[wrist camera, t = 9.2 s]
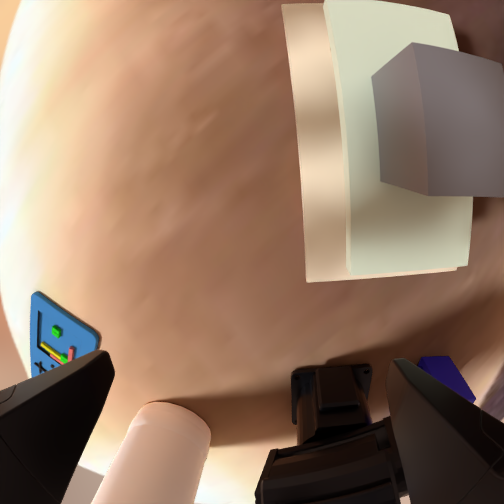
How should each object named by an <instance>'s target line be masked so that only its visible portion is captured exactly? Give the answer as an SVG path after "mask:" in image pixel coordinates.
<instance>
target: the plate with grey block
mask: <svg viewBox="0 0 504 504" xmlns="http://www.w3.org/2000/svg"><path fill="white" fill-rule="evenodd" d="M323 10H324V15H325V20H326V25H327V31H328V36H329V42H330V48H331V54H332V61H333V67H334V74H335V82H336V90H337V98H338V107H339V116H340V126H341V137H342V150H343V164H344V182H345V207H346V268H347V270H348V272H349V274H350V275H351V276H353V275H367V274H380V273H392V272H405V271H416V270H428V269H438V268H449V267H459V266H467V264H468V256H469V248H470V238H471V226H472V209H473V197H504V72H503V67H502V64H501V63H498V62H495V61H492V60H488V59H485V58H482V57H478V56H475V55H471V54H467V53H463V52H459V49H458V45H457V41H456V37H455V33H454V30H453V26H452V23H451V19H450V16H449V15H448V14H444V13H440V12H436V11H432V10H428V9H423V8H418V7H413V6H408V5H402V4H396V3H390V2H383V1H374V0H325V1H324V5H323Z"/></svg>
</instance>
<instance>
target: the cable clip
mask: <svg viewBox="0 0 504 504" xmlns="http://www.w3.org/2000/svg"><path fill="white" fill-rule="evenodd" d="M417 367H419V368H420V369H422V370H423V371H425V372H426V373H428V374H429V375H431V376H432V377H434V378H435V379H437V380H438V381H440V382H441V383H443V384H444V385H446V386H447V387H449V388H450V389H452V390H453V391H455V392H456V393H458V394H459V395H461V396H462V397H464V398H465V399H467V400H468V401H470V402H471V403H474V401H475V400H476V397H475V396H474V394H473V393H472V391H471V389H470V388H469V386H468V385H467V383H466V381H465V380H464V378H463V377H462V375H461V374H460V372H459V371H458V369H457V368H456V366H455V365H454V363H453V362H452V360H451V359H450V357H449V356H433V357H421V359H420V362H419V364H418V366H417Z"/></svg>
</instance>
